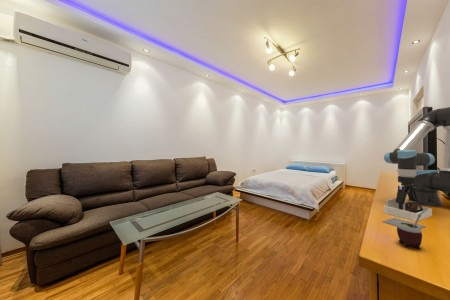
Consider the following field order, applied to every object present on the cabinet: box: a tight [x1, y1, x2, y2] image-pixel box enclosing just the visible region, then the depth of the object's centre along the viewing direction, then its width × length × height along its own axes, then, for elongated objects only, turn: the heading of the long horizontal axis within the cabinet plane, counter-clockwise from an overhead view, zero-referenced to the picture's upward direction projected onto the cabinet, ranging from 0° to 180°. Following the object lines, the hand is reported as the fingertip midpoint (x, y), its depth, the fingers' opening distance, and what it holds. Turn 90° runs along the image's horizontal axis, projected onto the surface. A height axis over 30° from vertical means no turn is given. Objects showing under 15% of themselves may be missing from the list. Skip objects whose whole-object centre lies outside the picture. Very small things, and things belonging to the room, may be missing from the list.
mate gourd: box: [396, 210, 427, 250], centre depth 70 cm, size 8×8×15 cm
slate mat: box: [382, 217, 427, 230], centre depth 88 cm, size 12×12×1 cm
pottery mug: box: [404, 201, 423, 213], centre depth 98 cm, size 12×9×8 cm
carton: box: [383, 197, 433, 222], centre depth 101 cm, size 18×14×7 cm
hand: (407, 213), depth 101 cm, fingers closed on pottery mug, 11 cm apart
